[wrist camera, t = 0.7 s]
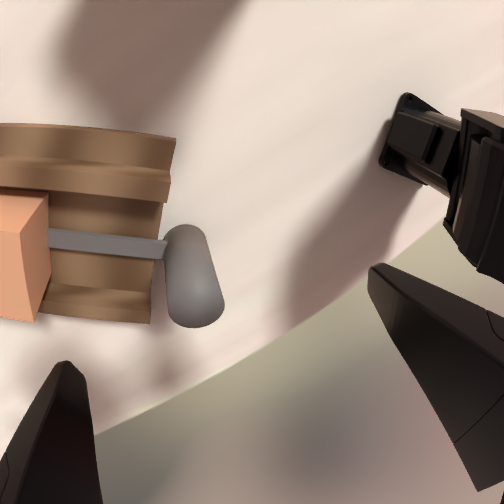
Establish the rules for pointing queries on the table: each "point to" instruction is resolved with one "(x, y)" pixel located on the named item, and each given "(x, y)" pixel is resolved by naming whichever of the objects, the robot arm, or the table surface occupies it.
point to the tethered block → (43, 238)
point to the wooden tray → (93, 209)
